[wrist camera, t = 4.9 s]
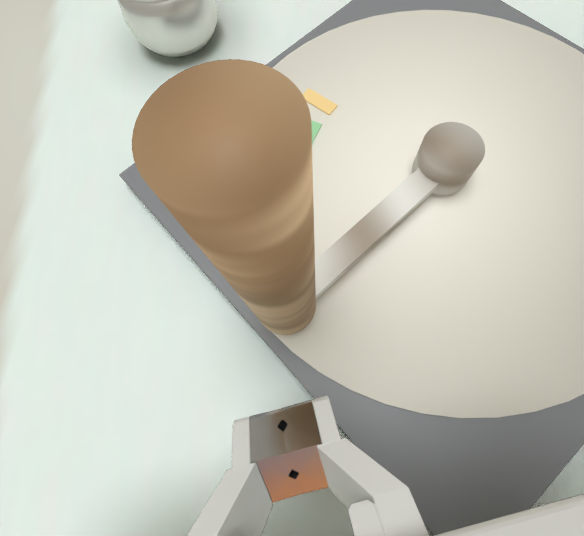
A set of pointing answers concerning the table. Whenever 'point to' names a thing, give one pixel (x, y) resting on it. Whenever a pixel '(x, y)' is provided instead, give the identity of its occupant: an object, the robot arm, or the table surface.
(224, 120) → the needle lever
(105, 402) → the table surface
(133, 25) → the plastic bottle
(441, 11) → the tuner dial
